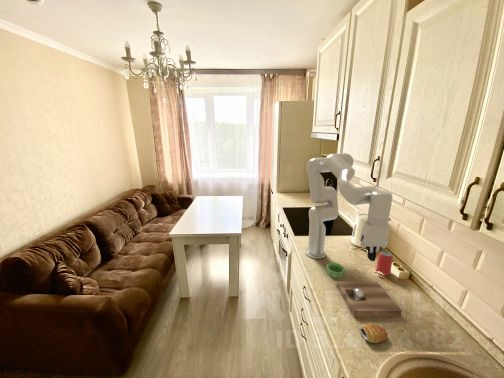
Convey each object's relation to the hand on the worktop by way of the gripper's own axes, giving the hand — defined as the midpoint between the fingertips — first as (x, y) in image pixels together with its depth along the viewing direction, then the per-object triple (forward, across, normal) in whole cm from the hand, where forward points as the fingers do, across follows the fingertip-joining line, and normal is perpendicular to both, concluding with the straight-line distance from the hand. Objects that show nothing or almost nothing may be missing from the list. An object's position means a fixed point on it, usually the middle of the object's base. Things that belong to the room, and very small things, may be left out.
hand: (371, 259), depth 93 cm
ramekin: (+22, +7, -18) cm, 29 cm away
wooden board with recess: (+21, 0, 0) cm, 21 cm away
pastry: (+22, +4, +21) cm, 30 cm away
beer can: (+21, -20, -20) cm, 35 cm away
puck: (+19, +2, 0) cm, 19 cm away
